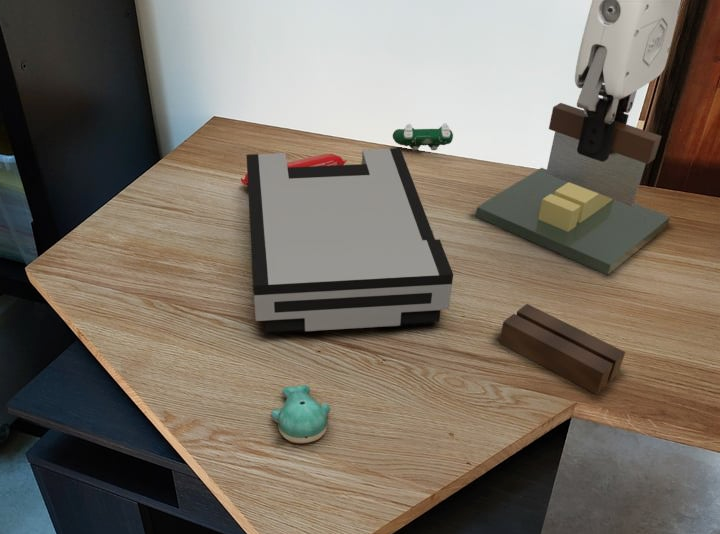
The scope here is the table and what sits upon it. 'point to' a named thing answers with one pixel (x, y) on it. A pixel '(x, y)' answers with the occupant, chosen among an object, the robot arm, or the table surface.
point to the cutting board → (590, 237)
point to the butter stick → (582, 199)
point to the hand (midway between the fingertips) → (597, 151)
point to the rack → (562, 348)
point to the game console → (342, 246)
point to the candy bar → (311, 163)
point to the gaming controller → (423, 137)
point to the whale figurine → (301, 416)
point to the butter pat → (559, 212)
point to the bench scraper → (605, 177)
